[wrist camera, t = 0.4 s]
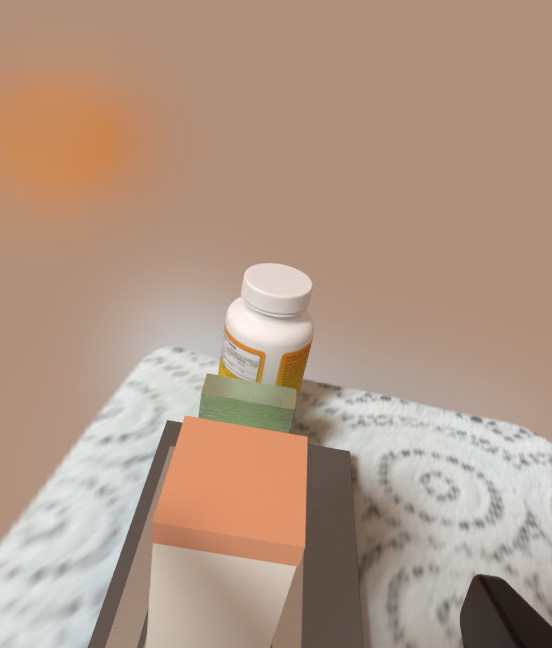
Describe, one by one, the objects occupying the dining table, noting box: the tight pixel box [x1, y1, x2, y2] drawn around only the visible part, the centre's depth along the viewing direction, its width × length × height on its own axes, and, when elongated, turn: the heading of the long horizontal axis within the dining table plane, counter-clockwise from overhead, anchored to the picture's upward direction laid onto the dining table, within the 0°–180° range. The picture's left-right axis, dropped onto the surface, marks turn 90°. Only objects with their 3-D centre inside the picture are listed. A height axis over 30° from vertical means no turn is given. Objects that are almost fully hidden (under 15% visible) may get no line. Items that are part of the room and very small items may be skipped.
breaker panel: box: [88, 374, 363, 648], centre depth 22 cm, size 20×11×5 cm, turn 176°
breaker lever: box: [146, 416, 308, 648], centre depth 18 cm, size 4×4×10 cm
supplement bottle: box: [218, 263, 314, 407], centre depth 33 cm, size 5×5×10 cm
